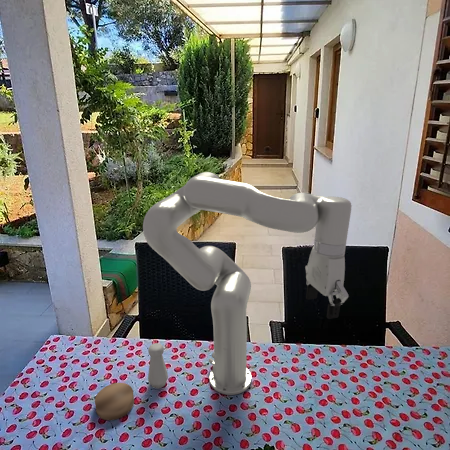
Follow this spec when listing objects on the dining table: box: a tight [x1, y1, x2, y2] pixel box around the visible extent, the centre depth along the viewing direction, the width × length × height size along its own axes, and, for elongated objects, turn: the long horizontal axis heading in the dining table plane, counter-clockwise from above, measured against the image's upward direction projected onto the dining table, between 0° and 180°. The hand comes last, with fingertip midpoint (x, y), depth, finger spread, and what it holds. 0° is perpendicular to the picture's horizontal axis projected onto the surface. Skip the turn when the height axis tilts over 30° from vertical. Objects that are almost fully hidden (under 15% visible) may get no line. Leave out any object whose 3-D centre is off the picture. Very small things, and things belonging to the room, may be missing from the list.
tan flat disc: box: [94, 382, 135, 421], centre depth 93 cm, size 10×10×3 cm
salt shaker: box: [147, 342, 169, 389], centre depth 99 cm, size 6×6×13 cm
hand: (321, 307), depth 90 cm, fingers open, 9 cm apart
